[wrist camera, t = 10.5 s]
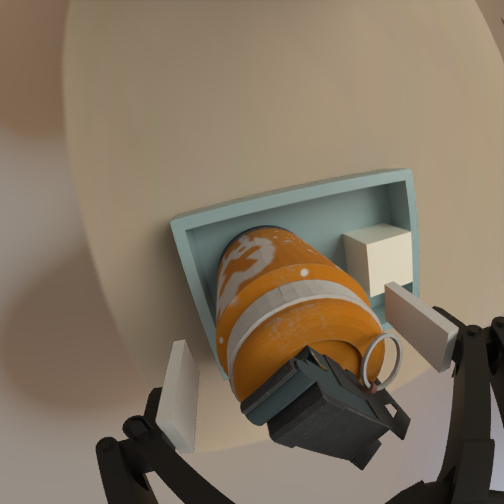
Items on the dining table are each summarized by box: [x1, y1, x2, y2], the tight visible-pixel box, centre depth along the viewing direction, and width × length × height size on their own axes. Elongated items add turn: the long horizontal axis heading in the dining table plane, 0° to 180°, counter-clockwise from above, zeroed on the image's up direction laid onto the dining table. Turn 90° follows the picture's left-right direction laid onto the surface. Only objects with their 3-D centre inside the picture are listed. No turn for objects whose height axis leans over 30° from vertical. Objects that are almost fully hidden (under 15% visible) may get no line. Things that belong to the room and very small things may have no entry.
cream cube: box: [342, 223, 413, 297], centre depth 25 cm, size 5×5×5 cm
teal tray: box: [170, 169, 420, 380], centre depth 25 cm, size 16×22×4 cm
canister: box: [216, 225, 411, 470], centre depth 17 cm, size 9×11×20 cm
